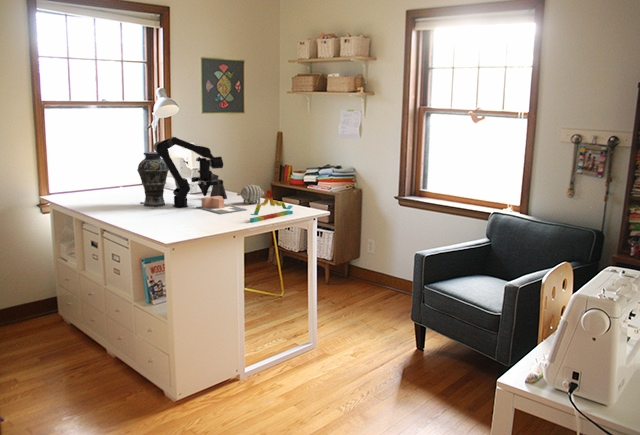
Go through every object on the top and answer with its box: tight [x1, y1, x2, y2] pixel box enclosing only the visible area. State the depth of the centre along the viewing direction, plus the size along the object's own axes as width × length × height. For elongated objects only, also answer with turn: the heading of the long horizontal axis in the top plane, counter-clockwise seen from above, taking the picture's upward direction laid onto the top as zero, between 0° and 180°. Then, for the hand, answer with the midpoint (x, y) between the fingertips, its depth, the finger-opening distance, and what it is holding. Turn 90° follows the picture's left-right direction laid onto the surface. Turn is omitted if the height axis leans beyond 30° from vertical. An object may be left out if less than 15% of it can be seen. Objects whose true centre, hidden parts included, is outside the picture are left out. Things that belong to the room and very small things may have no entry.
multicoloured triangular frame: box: [249, 189, 294, 223], centre depth 315 cm, size 30×3×15 cm, turn 143°
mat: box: [196, 203, 248, 215], centre depth 336 cm, size 18×23×1 cm
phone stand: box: [209, 178, 228, 200], centre depth 366 cm, size 9×6×12 cm, turn 137°
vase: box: [137, 151, 170, 208], centre depth 339 cm, size 17×17×30 cm
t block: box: [201, 196, 225, 208], centre depth 339 cm, size 12×10×5 cm
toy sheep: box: [236, 184, 265, 205], centre depth 354 cm, size 11×17×11 cm, turn 123°
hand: (204, 195), depth 345 cm, fingers closed
